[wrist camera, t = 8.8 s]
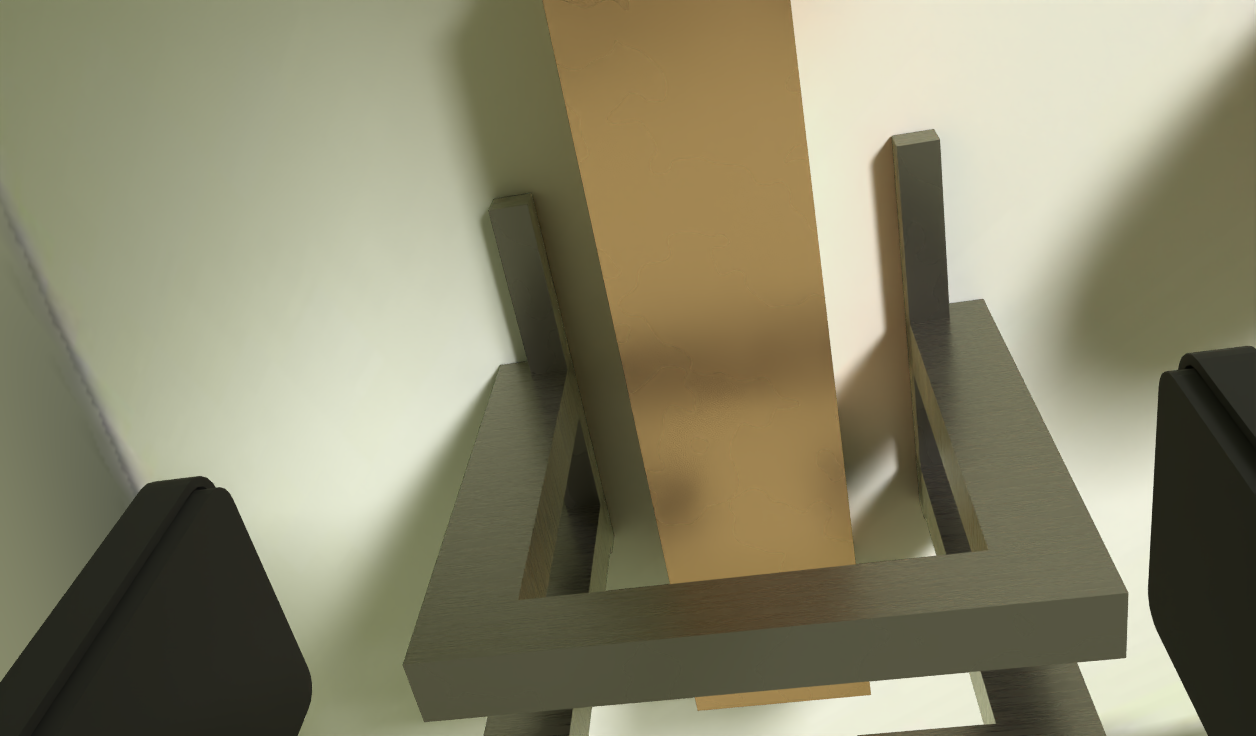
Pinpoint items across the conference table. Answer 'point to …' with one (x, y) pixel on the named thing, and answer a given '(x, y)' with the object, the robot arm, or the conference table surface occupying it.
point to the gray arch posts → (777, 602)
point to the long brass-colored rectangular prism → (713, 282)
